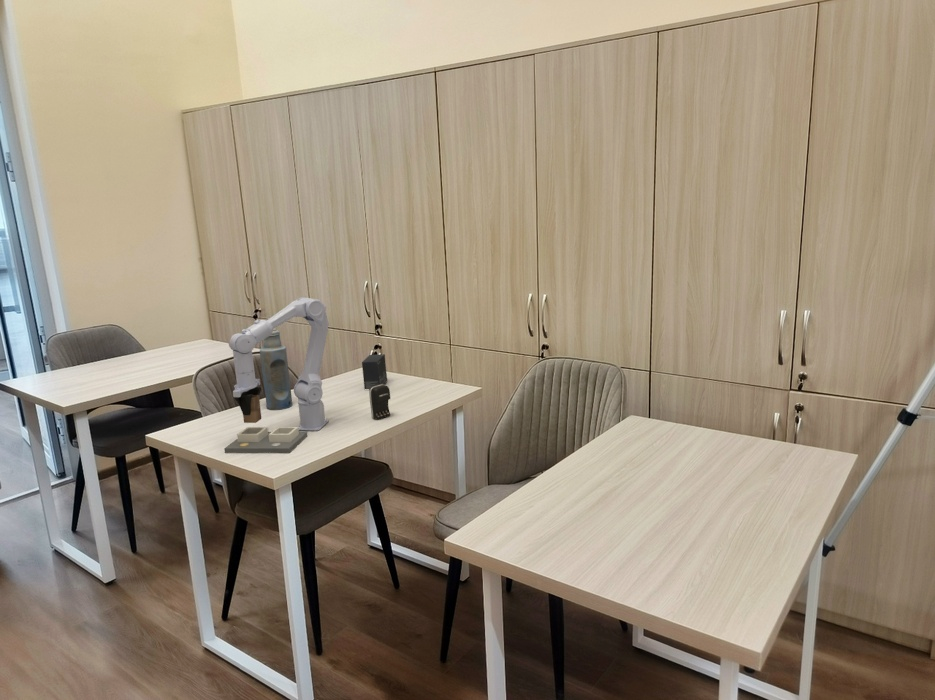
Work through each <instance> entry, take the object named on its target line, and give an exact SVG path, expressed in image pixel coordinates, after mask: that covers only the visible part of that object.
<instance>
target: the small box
mask: <svg viewBox="0 0 935 700" xmlns="http://www.w3.org/2000/svg"><path fill="white" fill-rule="evenodd" d="M361 365H362V366H361V367H362V375H363V385H364V390H365V389H371V388H372V387H374V386H377V385H386V383H387V382H388V375H387V373H388V372H387V365H386V355H385V354H381V353H380V354H369V355H368V356H367V357H366V358H365V359H364V360H362V362H361ZM386 381H387V382H386ZM385 382H386V383H385Z"/></svg>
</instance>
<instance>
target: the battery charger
mask: <svg viewBox="0 0 935 700" xmlns="http://www.w3.org/2000/svg"><path fill="white" fill-rule="evenodd" d="M368 392H369V395H368V396H369V403H370V414H371V419H372V420H381V418H382V419H384V417H385V418H388V417H390V416H391V411H390V409H389V400H391V391H390V388H389V386H388V385H386V384H384V385H377V386H374V387H372V388H371V389H370V390H368ZM387 416H388V417H387Z"/></svg>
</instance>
